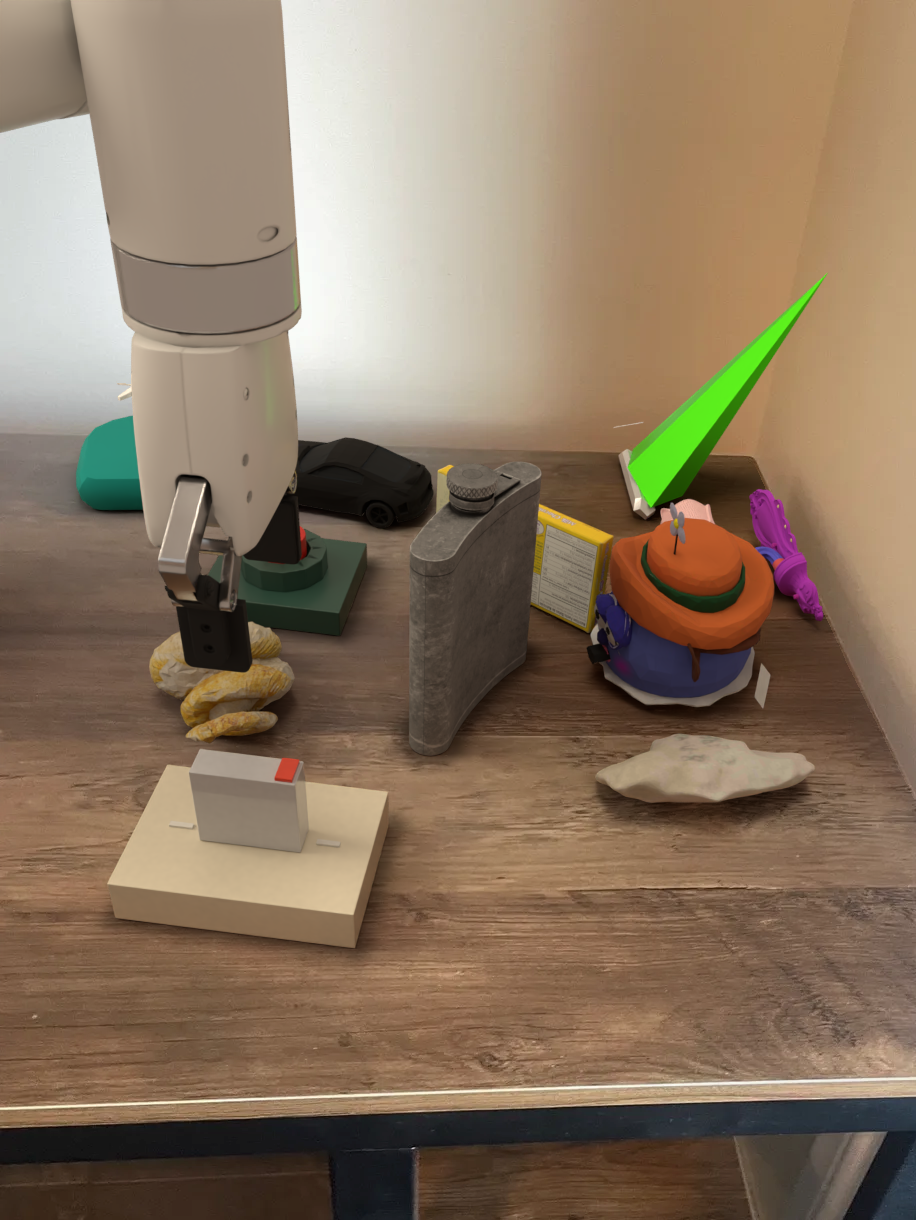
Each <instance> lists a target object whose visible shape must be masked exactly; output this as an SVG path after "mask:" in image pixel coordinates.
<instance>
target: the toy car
mask: <svg viewBox="0 0 916 1220" xmlns="http://www.w3.org/2000/svg"><path fill="white" fill-rule="evenodd" d="M295 471H296V474H297V486H296V490H295V493H294V494H291V493H286V494H287V495H288V496H298V506H303V507H307V508H312V509H313V508H314V509H319V510H325V511H330V512H336V513H344V514H350V515H357V516H359V517H363V515H366V519H367V521H368V522H369V523H370V524H371V525H372V526H374V527H376V528H377V529H385V528H388V527H390V526H391V525H392V523H393V522H394V521H395V520H396V522H397V523H403V522H407V521H411V520H414V519H417V518H419V517H420V516H421V515H422V514H424V512H425V511H426V510H427V509H428V507H429V506H430V505H431V502H432V500H433V498H434V493H435V492H434V487H433V480H432V479H433V478H432V474H431V472H430V470H428V469H427V467H426V465H425V464H423V463H420V462H419V461H417V460H412V459H410V458H408V457H405V456H403V455H401V454H399V453H396V452H394V451H392V450H390V449H388V448H386V447H384V446H382V445H379V444H375V443H372V442H370V441H368V440H363V439H360V438H356V437H346V436H344V437H342V438H338V439H335V440H332V441H328V442H325V441H314V440H302V439H298V459H297V464H296V468H295Z"/></svg>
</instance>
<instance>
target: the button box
mask: <svg viewBox="0 0 916 1220" xmlns="http://www.w3.org/2000/svg"><path fill="white" fill-rule="evenodd" d="M303 529H304V530H305V532H306V545H307V554H306V556H305V558H303V559H302V560H300V561H299V562H298V563H297V564H277V563H269V562H265V561H256V560H248V559H246V558H245V557H244V556H243V555H242V561H241V570H240V579H239V588H238V597H237V599H243V600H246V608H247V617H248V622H254V623H255V624H258V625H260V626H263V627H264V628H270V629H280V630H289V631H297V632H305V633H314V634H321V635H328V636H329V635H330V636H341V634H342V632H343V630H344V627H345V625H346V621H347V620H348V616H349V614H350V611H351V609H352V606H353V603H354V601H355V598H356V596H357V593H358V590H359V588H360V586H361V582H362V580H363V577H364V576H365V573H366V570H367V567H368V543H366V542H359V541H350V540H340V539H332V538H325V537H321V536H320V535H319V534H317V533H314V532H312V531H310V530H308V529H306V528H303ZM222 562H223V556H222V555H217V557H216V560H215V561H214V563H213V564H212V567H211V568H210V570H209V571H208V574H207V575H208V576H211V577H212V578H214V579H215V580H216V581H218V582H219V583H220V580H221V571H222Z"/></svg>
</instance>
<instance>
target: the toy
mask: <svg viewBox="0 0 916 1220" xmlns="http://www.w3.org/2000/svg"><path fill="white" fill-rule="evenodd" d="M643 423H644V421H639V422H634V423H629V424H623V425H622V424H621V425H616V426H613V429H616V428H621V427H626V426H632V425H639V424H643ZM675 505H676V504H674V502H670V505H669V509H670V512H671V516H672V518H673V520H670V521H666V522H663V523H662V524H659V525H657V526H656V527H655V528H654V530H653V531H648V532H645V533H641V534H638V535H635V536H630V537H623V538H620V539H619V540H618V541H617V542H615V544H614V545H612V550H611V556H610V562H609V568H608V574H609V580H610V587H611V591H610V592H608V593H605V594H602V595H597V597H596V604H595V607H594V612H595V615H596V618H597V625H596V626H595V627H594V628H593V630H592V631H591V632H590V640H591V642H592V644H591V645H588V646H586V648H585V649H586V653H587V657H588V659H589V660H590V662H591V664H592V665H595V664H600V665H601V666H602V668H603V675H604V679H605V680H607V681H609V682H611V683H612V684H614V685H616V686H617V687H619V688H620V689H622V690H623V691H624V692H625V693H627V694H628V695H629V696H630V697H632V698H633V699H635V700H637V701H639V702H640V703H642V704H644V705H645V706H660V705H661V706H662V705H681V706H687V707H688V706H689V707H694V708H700V707H710V706H711V705H713V704H715V703H716V702H718V701H720V700H721V699H722V698H724V697H726V696H730V695H733V694H736V693H738V692H740V691H742V690H743V689H745V688H746V687H747V686H748V684H749V682H750V680H751V679H752V675H753V665H754V660H755V654H756V653H755V652H756V651H755V650H754V646H756V645H757V644H758V643H760V641H761V631H762V626H763V624H764V623H765V621H766V620H767V618H768V617H769V615H770V614H771V611H772V608H773V607H772V606H773V601H774V595H775V580H774V573H773V572H772V570H771V568H770V565H769V562H768V560H767V559H766V558H764V557H763V556H762V555H761V554H760V553H759V552H758V551H757V550H756V549H755V548H756V547H754V546H753V544H751V542H749V541H747V540H745V539H743V538H742V537H740V536H737V535H736V534H733V533H732V532H729V531H728V530H727V529H726V528H724V527H722V526H720V525H718V524H716V523H715V524H713V523H711V522H709V521H707V520H704V519H693V518H684V514H683V512H682V511H681V512H679V514H678V513H677V509H676V507H675ZM770 680H771V673H770V672H769V671H768V669H767V668H766V667H765V665H764V664H763V663H762V662H761V663H760V668H759V674H758V678H757V683H756V687H755V692H754V699H755V700H756V702H757V703H758V704H759V706H760V707H761V708H762V709H764V708H765V702H766V697H767V693H768V689H769V685H770Z"/></svg>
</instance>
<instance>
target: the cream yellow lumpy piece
mask: <svg viewBox="0 0 916 1220" xmlns="http://www.w3.org/2000/svg"><path fill="white" fill-rule="evenodd" d="M248 626H249V634H250V643H251V652H252V660H253V661H252V665H251V667H250V669H249V671H247V672H245V673H241V672H232V671H223V670H214V669H205V668H196V667H191V666H189V665H188V664H186V662H185V660H184V653H183V647H182V641H181V635H180V630H179V631H177V632H176V633H173V634H170V636H169V637H168V638H166V640H164V641H162V643H161V644H160V645H159V646H157V647H155V648H154V650H153V654H152V655H151V656H150V659H149V665H148V666H149V667H148V668H149V669H148V670H149V673H150V678H151V680H152V682H153V684H154V685H155V686H156V687H157V688H158V690H162V692H166V694H168V695H170V696H171V697H174V698H175V699H177V700H180V701H182V702H181V704H180V715H181V717H182V719H183V721H184V723H185V725H187V727H189V728H191V729H190V730H189V731H187V733H186V734H185V738H186V739H188V740H192V741H194V742H196V743H197V742H204V743H208V744H211V743H212V742H214V741H215V739H216V738H218V737H220V736H229V737H241V736H248V735H253V734H260V733H263V732H266V731H268V730H270V729H272V728H273V727H274V726H275V725H276V723H277V722H278V720H279V718H278V716H277V714H275V713H274V712H272V711H261V710H262V709H264V707H266V706H268V705H269V704H271V703H272V702H274V701H277V700H280V699H281V698H282V697H284V695H286V694H287V693H288V692H289V691H290V689H291V687H292V686H293V684H294V682H295V674H294V671H293V668H292V667H291V665H289V663H288V662H286V661H283V660H281V658H280V657H279V656H281V652H282V649H283V646H282V642H281V641H282V640H281V639H280V637H279V635H277V634H276V633H275V631H272V628H271V627H263V626H260V625H258V624H255V623H254V622H248Z"/></svg>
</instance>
